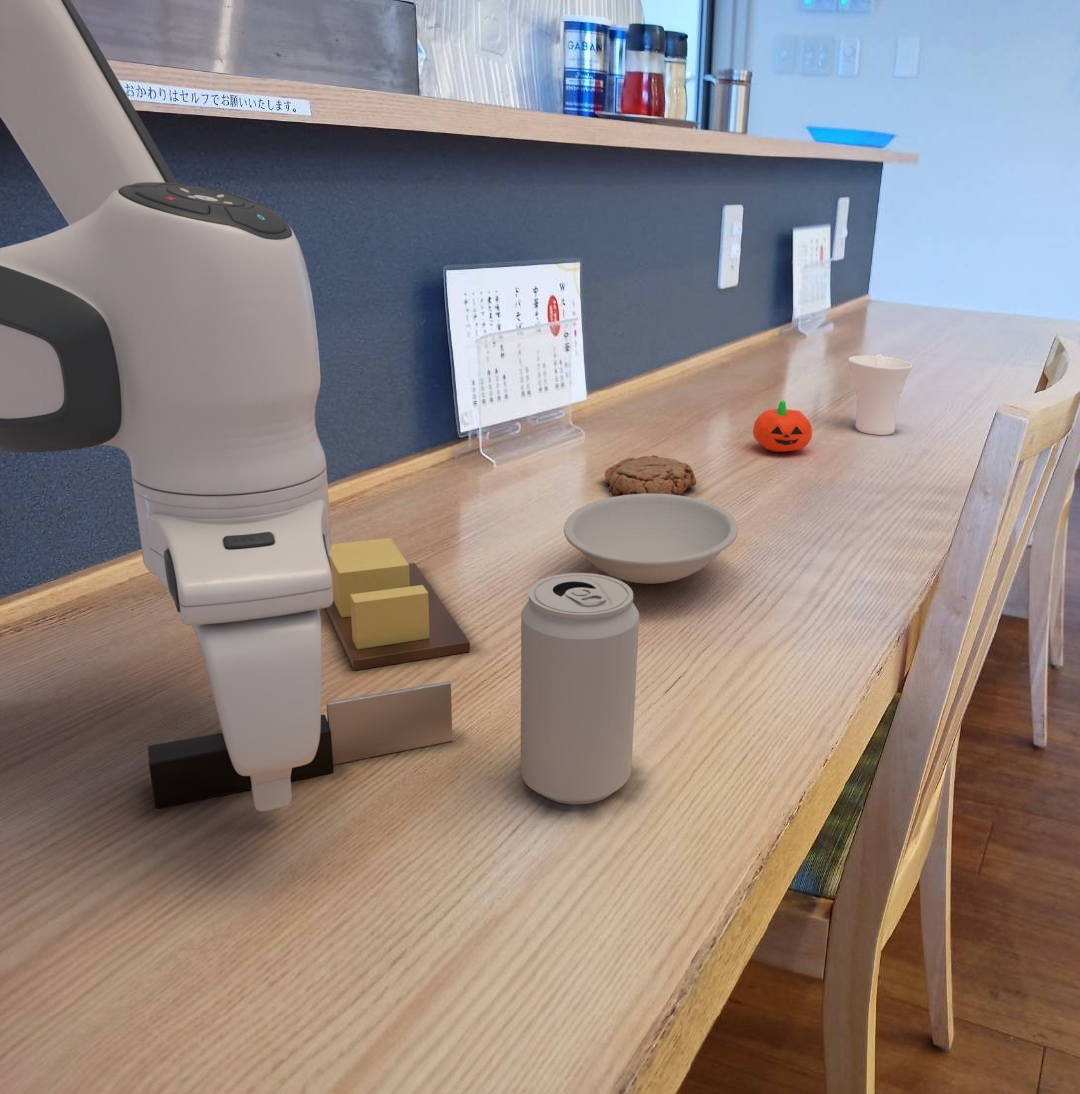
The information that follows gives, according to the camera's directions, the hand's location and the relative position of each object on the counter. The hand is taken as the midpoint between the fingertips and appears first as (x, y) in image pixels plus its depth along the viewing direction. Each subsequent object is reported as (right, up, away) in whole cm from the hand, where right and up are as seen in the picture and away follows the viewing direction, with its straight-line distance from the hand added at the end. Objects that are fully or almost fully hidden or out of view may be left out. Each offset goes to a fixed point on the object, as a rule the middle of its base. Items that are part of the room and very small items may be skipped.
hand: (260, 756), depth 58 cm
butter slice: (+2, +5, +16) cm, 17 cm away
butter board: (0, +6, +21) cm, 22 cm away
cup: (+46, +28, +88) cm, 104 cm away
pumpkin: (+33, +24, +74) cm, 85 cm away
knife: (+2, -1, +2) cm, 3 cm away
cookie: (+18, +18, +55) cm, 61 cm away
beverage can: (+17, -2, +3) cm, 18 cm away
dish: (+19, +9, +32) cm, 38 cm away
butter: (-2, +8, +22) cm, 23 cm away
